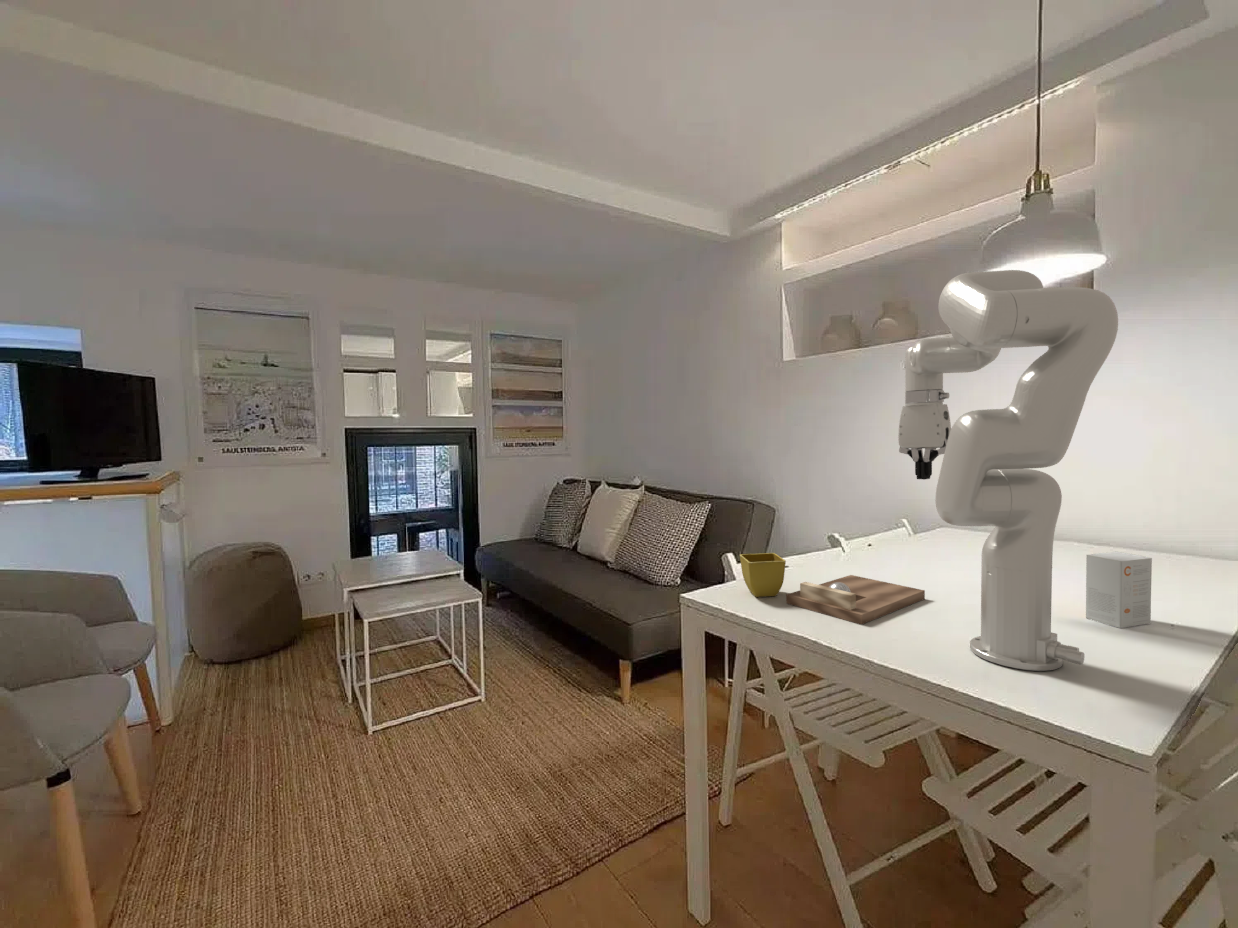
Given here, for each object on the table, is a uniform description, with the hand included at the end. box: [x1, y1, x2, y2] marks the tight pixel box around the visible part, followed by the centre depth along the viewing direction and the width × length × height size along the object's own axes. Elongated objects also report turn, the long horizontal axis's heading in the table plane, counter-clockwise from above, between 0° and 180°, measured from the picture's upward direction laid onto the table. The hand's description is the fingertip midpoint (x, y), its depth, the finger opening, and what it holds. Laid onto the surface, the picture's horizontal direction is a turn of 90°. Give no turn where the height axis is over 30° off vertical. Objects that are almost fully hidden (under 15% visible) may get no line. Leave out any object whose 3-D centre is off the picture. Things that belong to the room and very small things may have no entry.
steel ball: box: [829, 582, 851, 592], centre depth 120 cm, size 5×5×5 cm
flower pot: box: [739, 552, 787, 598], centre depth 129 cm, size 9×9×9 cm
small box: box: [1085, 551, 1153, 629], centre depth 105 cm, size 8×6×13 cm
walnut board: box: [785, 574, 926, 625], centre depth 122 cm, size 18×26×5 cm
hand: (923, 478), depth 124 cm, fingers closed
